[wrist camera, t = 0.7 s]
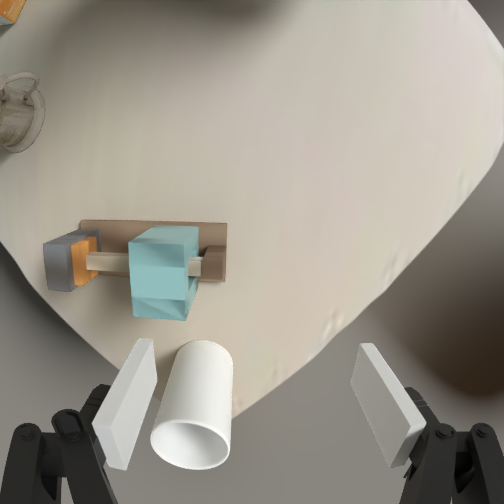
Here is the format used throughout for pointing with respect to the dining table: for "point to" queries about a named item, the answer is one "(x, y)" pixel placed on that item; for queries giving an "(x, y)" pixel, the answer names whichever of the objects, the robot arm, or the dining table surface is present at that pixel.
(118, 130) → the dining table surface
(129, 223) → the rail
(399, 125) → the dining table surface
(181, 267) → the sleeve
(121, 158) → the dining table surface
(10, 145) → the mug
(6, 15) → the small box
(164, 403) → the cup
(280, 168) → the dining table surface
